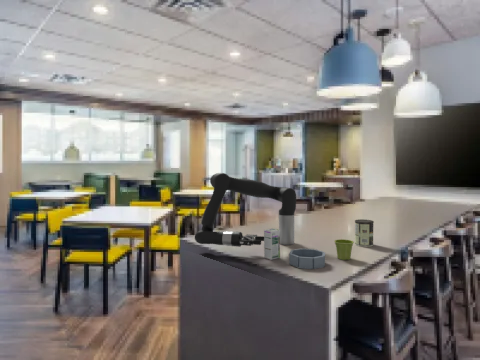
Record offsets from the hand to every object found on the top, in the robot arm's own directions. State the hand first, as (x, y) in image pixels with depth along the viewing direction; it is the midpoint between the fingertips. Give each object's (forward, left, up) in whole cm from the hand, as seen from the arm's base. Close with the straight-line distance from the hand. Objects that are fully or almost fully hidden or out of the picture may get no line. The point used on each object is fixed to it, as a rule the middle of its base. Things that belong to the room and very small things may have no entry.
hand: (262, 240), depth 171 cm
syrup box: (0, +5, -9) cm, 10 cm away
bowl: (+5, +23, -9) cm, 25 cm away
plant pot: (-8, +40, -9) cm, 41 cm away
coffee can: (-40, +52, -9) cm, 66 cm away
